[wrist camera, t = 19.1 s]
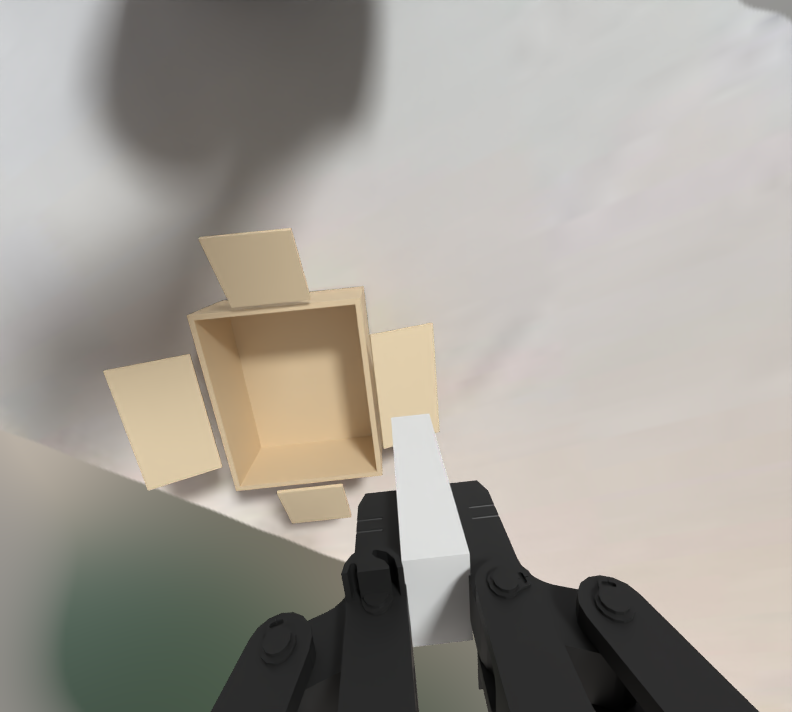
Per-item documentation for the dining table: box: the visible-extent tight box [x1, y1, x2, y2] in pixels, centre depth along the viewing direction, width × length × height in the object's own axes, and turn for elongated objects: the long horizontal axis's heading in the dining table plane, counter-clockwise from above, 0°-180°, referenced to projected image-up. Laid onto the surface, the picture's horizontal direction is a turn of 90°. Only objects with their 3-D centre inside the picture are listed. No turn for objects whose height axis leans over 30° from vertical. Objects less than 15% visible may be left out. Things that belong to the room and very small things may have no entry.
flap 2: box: [199, 228, 311, 308], centre depth 34 cm, size 8×8×1 cm
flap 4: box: [369, 323, 440, 449], centre depth 42 cm, size 14×8×1 cm, turn 5°
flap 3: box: [277, 484, 351, 524], centre depth 47 cm, size 8×8×1 cm
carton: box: [187, 286, 382, 491], centre depth 45 cm, size 22×18×9 cm
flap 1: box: [103, 354, 222, 490], centre depth 39 cm, size 14×8×1 cm, turn 5°
